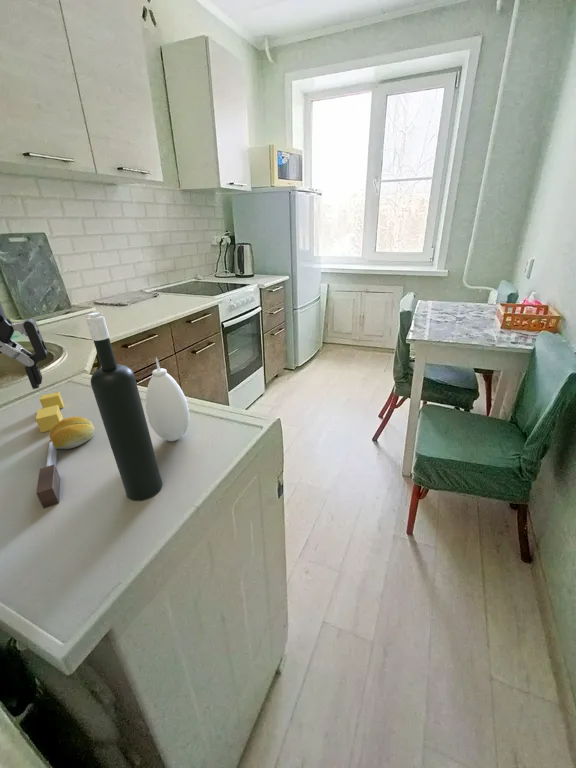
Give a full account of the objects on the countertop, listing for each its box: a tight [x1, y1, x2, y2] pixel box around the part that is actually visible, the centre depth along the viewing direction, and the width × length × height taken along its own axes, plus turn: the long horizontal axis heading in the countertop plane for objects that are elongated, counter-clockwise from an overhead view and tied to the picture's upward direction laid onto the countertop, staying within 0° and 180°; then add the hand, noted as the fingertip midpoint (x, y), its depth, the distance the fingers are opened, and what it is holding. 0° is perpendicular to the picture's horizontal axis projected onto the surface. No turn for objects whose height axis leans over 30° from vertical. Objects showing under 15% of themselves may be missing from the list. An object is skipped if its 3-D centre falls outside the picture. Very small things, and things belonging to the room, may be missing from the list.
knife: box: [35, 441, 61, 509], centre depth 63 cm, size 16×2×3 cm, turn 29°
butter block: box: [35, 405, 64, 433], centre depth 79 cm, size 5×4×4 cm
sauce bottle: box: [145, 357, 191, 442], centre depth 69 cm, size 8×8×18 cm
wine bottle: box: [84, 311, 163, 502], centre depth 53 cm, size 6×6×30 cm
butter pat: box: [39, 391, 65, 409], centre depth 87 cm, size 2×4×4 cm, turn 119°
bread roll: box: [49, 416, 96, 450], centre depth 74 cm, size 8×9×4 cm
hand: (3, 393), depth 53 cm, fingers open, 8 cm apart
